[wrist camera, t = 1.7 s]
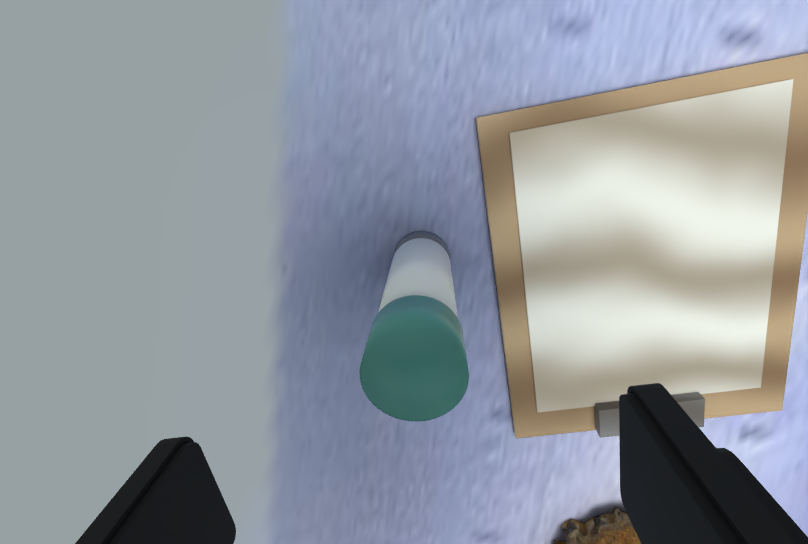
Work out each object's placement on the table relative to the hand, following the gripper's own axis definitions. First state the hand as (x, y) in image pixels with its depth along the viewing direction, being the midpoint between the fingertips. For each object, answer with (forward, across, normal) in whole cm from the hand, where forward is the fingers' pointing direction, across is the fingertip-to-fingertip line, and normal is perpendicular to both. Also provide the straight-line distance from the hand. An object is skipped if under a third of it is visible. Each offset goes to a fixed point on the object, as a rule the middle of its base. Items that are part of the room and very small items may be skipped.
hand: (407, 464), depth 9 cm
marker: (+16, 0, +1) cm, 16 cm away
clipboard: (+16, -12, +4) cm, 20 cm away
